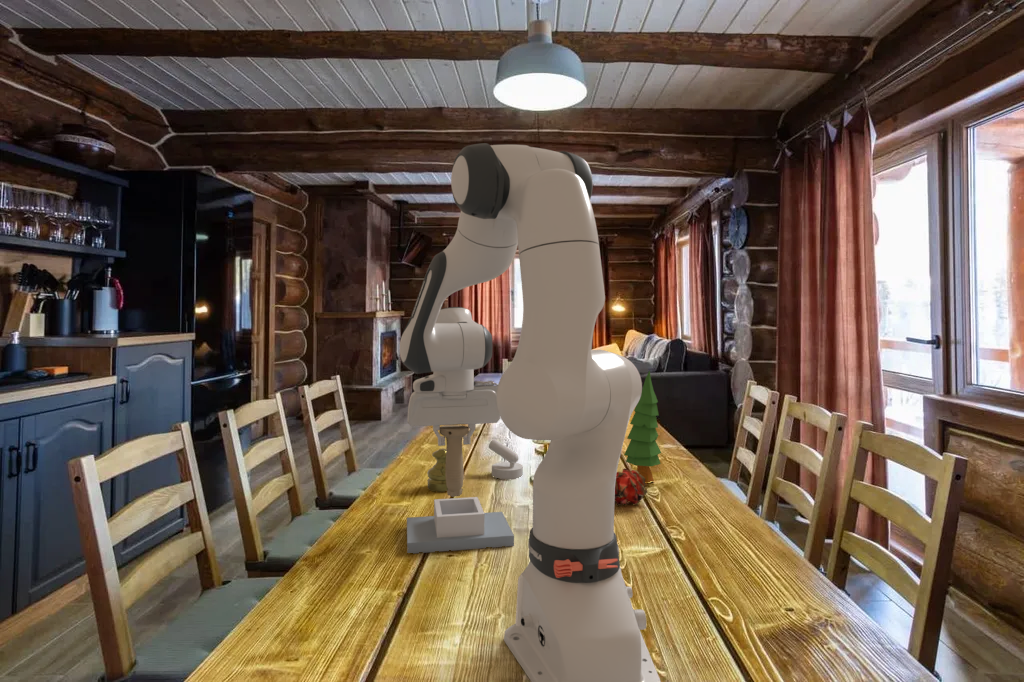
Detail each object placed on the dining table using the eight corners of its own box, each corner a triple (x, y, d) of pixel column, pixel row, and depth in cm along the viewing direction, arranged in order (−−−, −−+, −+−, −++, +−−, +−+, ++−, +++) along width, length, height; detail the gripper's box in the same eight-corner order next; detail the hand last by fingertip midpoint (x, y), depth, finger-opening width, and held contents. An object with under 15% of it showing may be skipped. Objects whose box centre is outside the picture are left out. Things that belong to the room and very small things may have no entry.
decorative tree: (663, 486, 142) (665, 371, 141) (627, 486, 142) (629, 371, 141) (654, 475, 152) (656, 368, 150) (620, 475, 152) (622, 367, 150)
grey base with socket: (514, 545, 104) (514, 514, 104) (407, 553, 100) (407, 521, 100) (501, 520, 117) (502, 493, 117) (406, 527, 113) (406, 498, 113)
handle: (464, 499, 117) (463, 430, 117) (436, 497, 119) (436, 428, 119) (472, 492, 122) (471, 426, 121) (445, 490, 124) (445, 424, 123)
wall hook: (498, 435, 158) (528, 439, 152) (498, 468, 158) (528, 473, 153) (481, 441, 150) (512, 446, 145) (481, 475, 151) (512, 481, 145)
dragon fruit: (638, 501, 135) (622, 524, 124) (610, 478, 137) (593, 498, 127) (657, 478, 131) (643, 500, 121) (629, 455, 133) (612, 474, 123)
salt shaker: (460, 490, 137) (460, 451, 137) (431, 494, 135) (431, 453, 134) (452, 482, 144) (452, 444, 144) (424, 485, 141) (424, 447, 141)
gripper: (498, 379, 125) (498, 439, 125) (406, 381, 121) (407, 443, 121) (502, 382, 118) (503, 445, 119) (407, 384, 115) (407, 450, 115)
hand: (454, 444), depth 120 cm, fingers closed on handle, 4 cm apart
